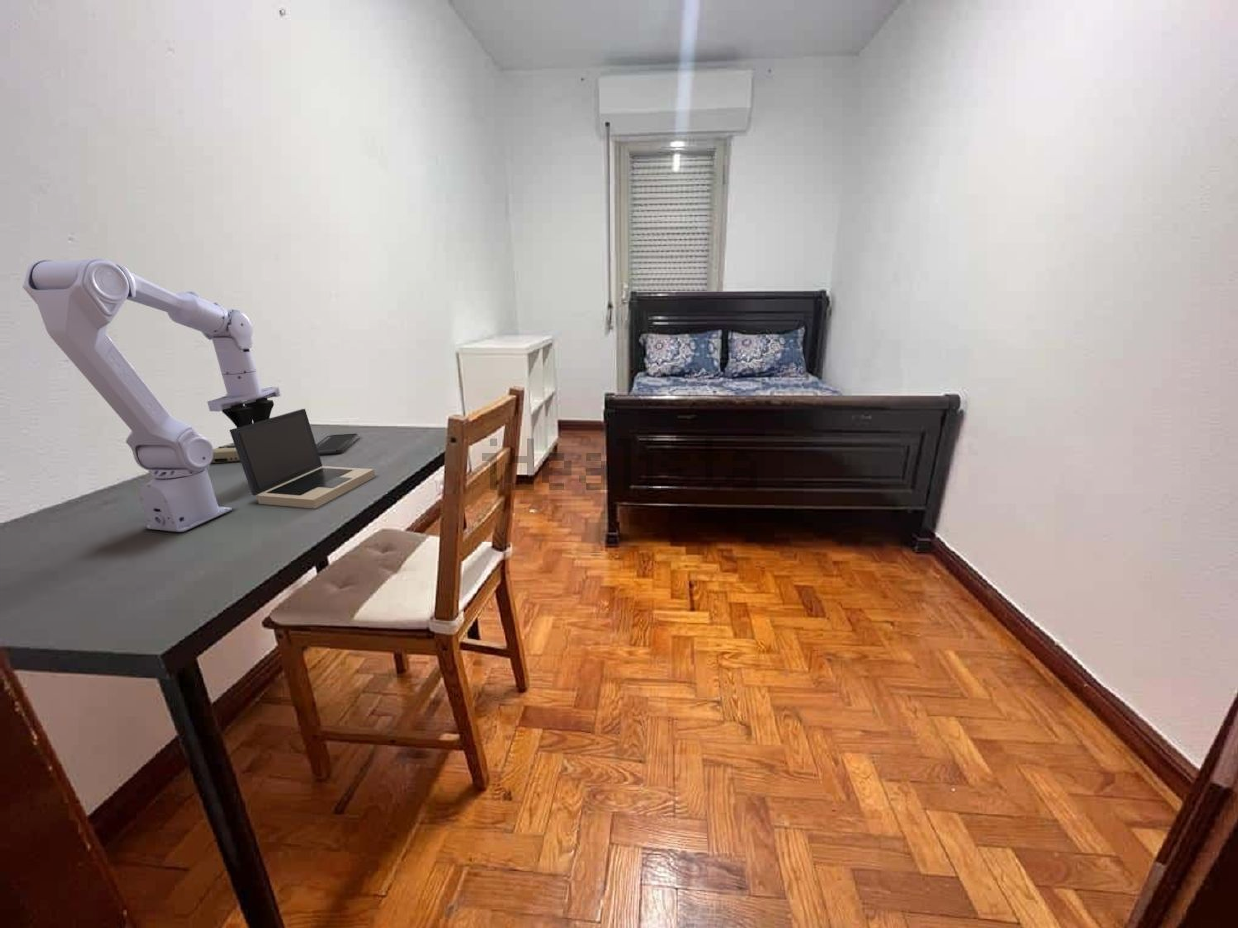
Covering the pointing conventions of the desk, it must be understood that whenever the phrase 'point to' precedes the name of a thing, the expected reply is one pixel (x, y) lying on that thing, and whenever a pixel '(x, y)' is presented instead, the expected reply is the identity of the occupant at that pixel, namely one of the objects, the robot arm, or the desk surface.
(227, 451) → the computer
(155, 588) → the desk surface
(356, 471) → the laptop
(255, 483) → the laptop screen
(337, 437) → the phone
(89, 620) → the desk surface
